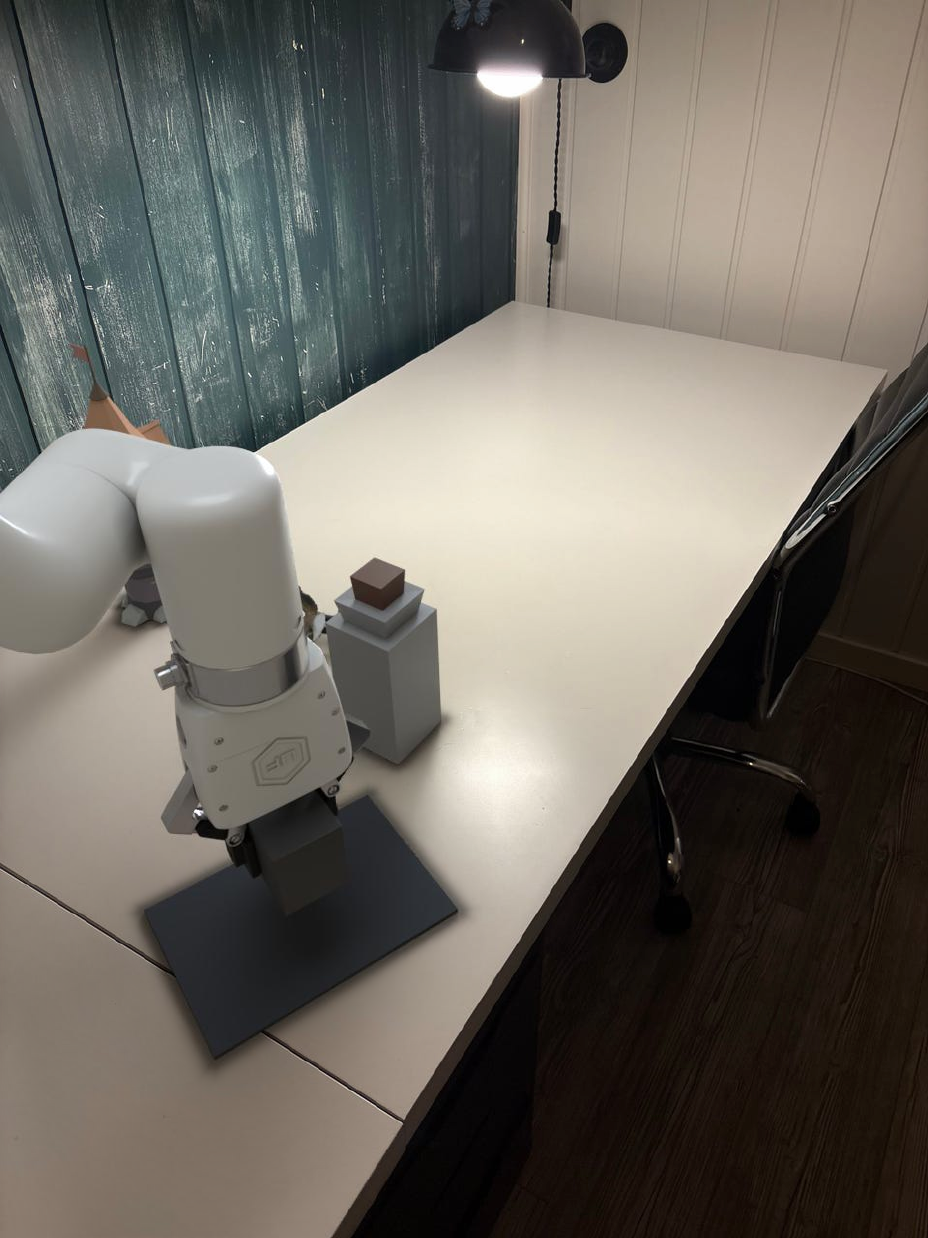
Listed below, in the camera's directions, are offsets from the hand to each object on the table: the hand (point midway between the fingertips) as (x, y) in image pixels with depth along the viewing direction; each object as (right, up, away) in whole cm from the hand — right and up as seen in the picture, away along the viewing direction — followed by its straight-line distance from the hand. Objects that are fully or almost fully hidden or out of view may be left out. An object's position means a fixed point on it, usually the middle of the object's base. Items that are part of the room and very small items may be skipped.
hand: (286, 842), depth 66 cm
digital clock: (0, -1, 0) cm, 1 cm away
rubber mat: (0, -7, +5) cm, 9 cm away
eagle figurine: (-4, +14, +32) cm, 35 cm away
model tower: (-21, +18, +37) cm, 46 cm away
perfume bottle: (+6, +6, +21) cm, 22 cm away
